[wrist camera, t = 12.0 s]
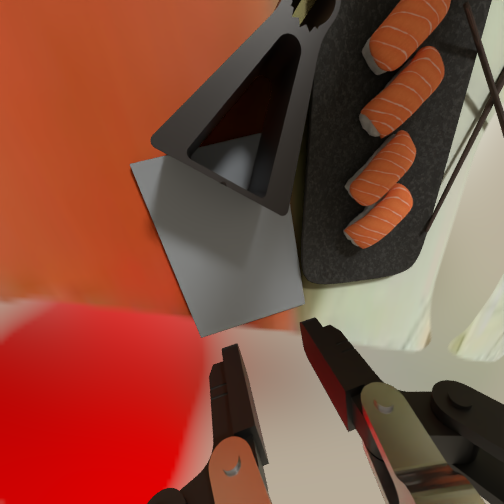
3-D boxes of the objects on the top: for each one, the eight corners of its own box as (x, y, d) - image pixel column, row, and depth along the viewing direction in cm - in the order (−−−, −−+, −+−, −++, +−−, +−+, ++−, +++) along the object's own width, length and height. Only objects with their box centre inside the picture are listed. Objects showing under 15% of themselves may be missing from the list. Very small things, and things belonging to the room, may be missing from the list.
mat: (276, 129, 20) (278, 128, 20) (303, 301, 27) (305, 303, 27) (131, 163, 19) (129, 164, 18) (201, 334, 26) (201, 337, 26)
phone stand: (147, 143, 13) (252, -114, 11) (164, 152, 18) (235, -15, 16) (285, 218, 16) (390, 27, 13) (263, 206, 21) (335, 70, 19)
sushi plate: (313, -111, 16) (347, -185, 12) (626, -47, 21) (709, -85, 18) (292, 280, 27) (307, 299, 23) (500, 253, 33) (537, 265, 29)
